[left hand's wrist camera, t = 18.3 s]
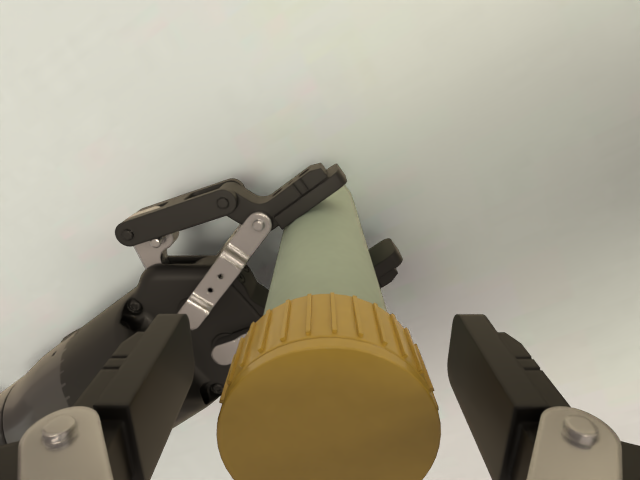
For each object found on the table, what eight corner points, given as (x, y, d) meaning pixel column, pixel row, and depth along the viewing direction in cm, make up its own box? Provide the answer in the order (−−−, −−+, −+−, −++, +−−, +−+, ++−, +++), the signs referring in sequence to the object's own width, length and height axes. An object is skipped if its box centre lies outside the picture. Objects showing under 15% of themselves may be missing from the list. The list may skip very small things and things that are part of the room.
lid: (220, 295, 10) (194, 351, 8) (422, 284, 10) (449, 336, 8) (246, 448, 12) (230, 527, 10) (418, 439, 12) (440, 516, 10)
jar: (366, 208, 27) (451, 423, 10) (320, 249, 28) (323, 508, 11) (323, 162, 26) (333, 312, 9) (277, 206, 27) (203, 417, 10)
